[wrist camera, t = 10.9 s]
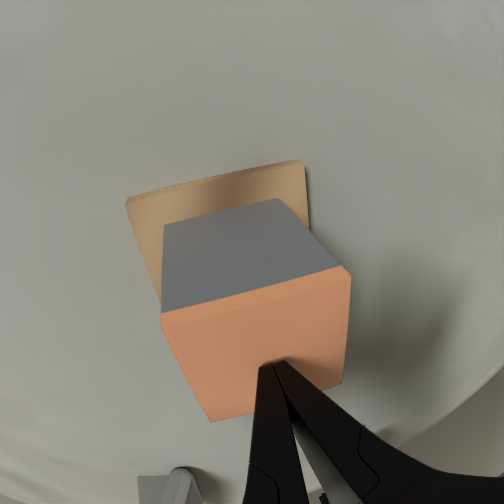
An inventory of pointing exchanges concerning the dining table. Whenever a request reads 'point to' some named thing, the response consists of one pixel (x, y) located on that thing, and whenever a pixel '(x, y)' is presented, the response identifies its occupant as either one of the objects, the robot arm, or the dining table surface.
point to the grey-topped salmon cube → (251, 303)
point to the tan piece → (212, 204)
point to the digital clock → (169, 489)
